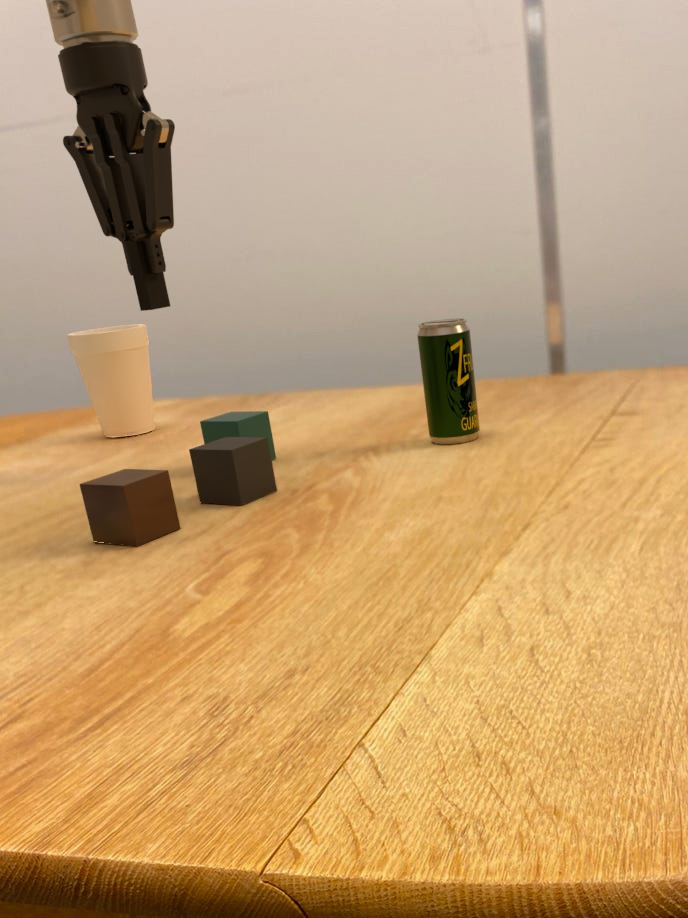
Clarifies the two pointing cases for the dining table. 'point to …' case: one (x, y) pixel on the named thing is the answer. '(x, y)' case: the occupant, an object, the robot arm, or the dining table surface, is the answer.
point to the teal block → (239, 427)
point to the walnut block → (130, 506)
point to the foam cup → (117, 376)
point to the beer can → (448, 381)
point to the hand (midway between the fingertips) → (155, 308)
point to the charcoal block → (233, 470)
